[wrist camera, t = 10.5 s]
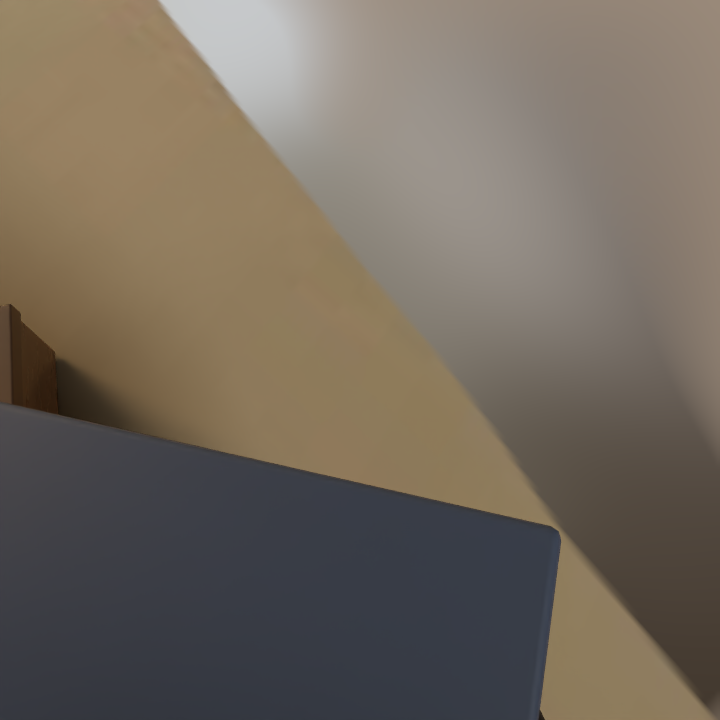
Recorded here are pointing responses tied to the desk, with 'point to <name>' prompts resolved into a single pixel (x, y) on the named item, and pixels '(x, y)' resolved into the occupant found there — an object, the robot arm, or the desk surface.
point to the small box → (252, 588)
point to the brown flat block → (25, 365)
